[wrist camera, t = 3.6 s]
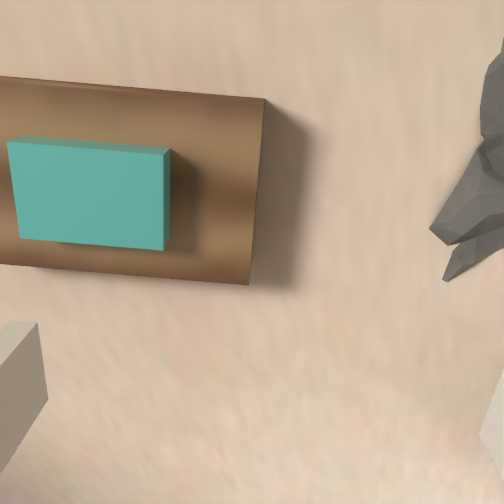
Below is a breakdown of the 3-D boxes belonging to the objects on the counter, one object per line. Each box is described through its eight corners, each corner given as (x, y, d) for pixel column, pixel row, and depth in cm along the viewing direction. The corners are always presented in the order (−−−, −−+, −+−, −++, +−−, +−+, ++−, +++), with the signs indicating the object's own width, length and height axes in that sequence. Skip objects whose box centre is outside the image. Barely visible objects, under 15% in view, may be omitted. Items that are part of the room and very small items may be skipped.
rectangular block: (169, 238, 30) (163, 250, 29) (34, 226, 30) (19, 238, 29) (170, 148, 28) (163, 155, 26) (23, 135, 28) (6, 141, 26)
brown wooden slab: (250, 263, 35) (248, 285, 32) (2, 242, 35) (-25, 261, 32) (264, 98, 30) (264, 104, 27) (-25, 73, 30) (-60, 76, 27)
